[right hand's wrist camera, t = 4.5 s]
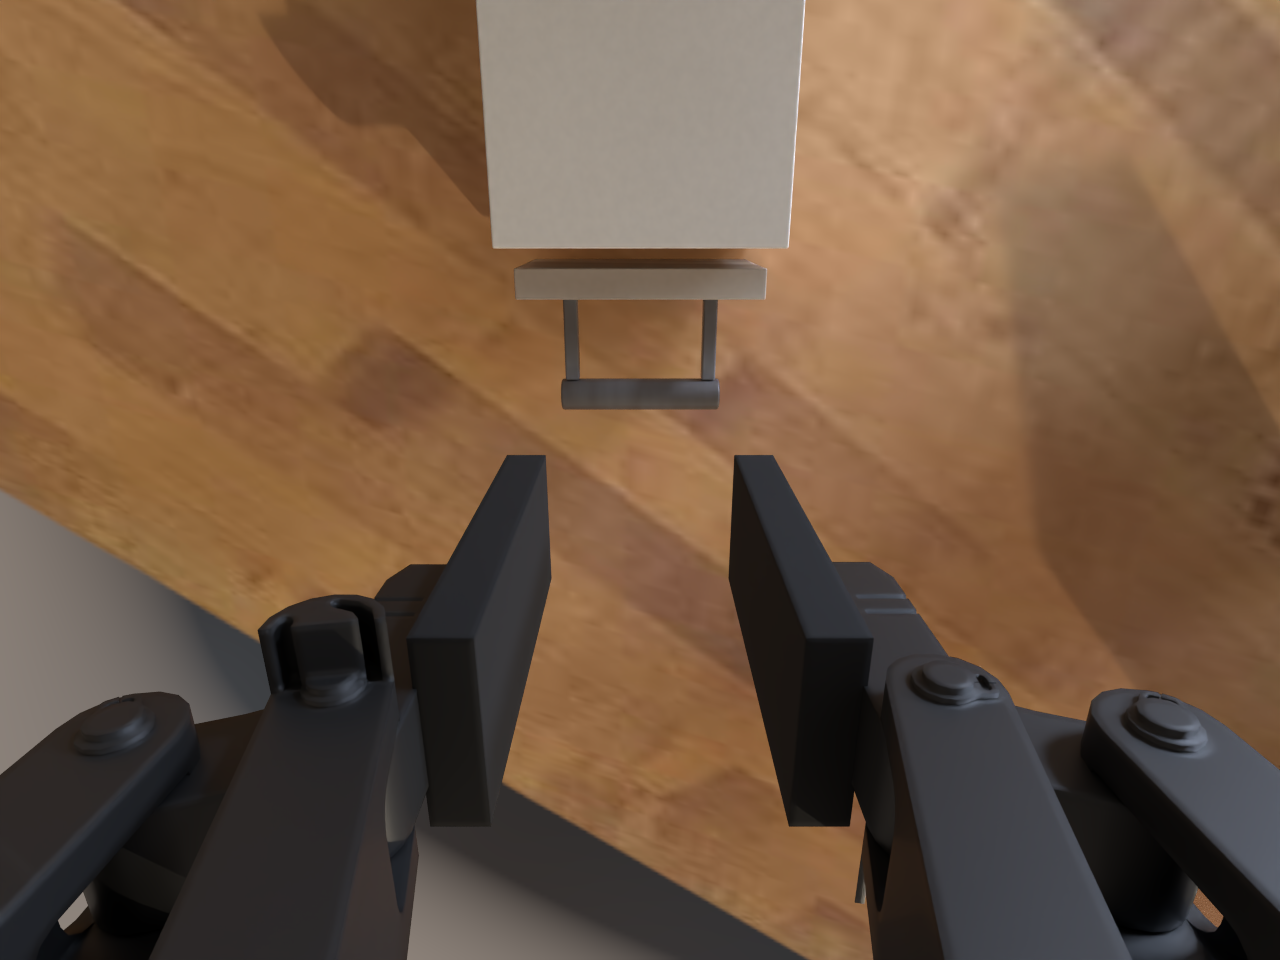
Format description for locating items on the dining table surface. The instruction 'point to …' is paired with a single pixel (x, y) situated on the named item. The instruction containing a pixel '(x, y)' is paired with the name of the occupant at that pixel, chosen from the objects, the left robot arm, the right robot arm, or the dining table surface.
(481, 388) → the dining table surface
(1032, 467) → the dining table surface
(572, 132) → the white box
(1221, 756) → the right robot arm
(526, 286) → the drawer
